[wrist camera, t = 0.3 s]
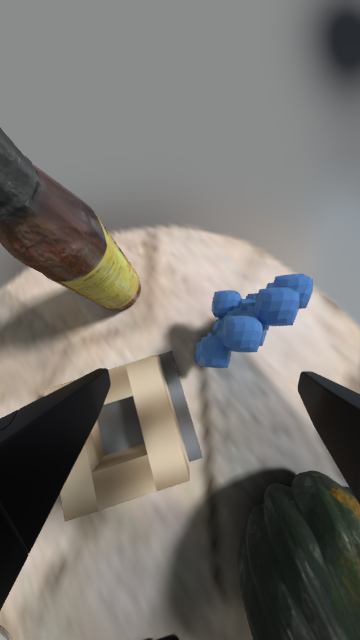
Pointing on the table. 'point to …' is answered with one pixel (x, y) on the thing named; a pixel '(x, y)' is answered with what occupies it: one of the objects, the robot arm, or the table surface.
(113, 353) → the table surface
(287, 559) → the squash
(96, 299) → the sauce bottle
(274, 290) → the grapes
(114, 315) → the table surface
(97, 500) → the socket
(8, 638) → the can
